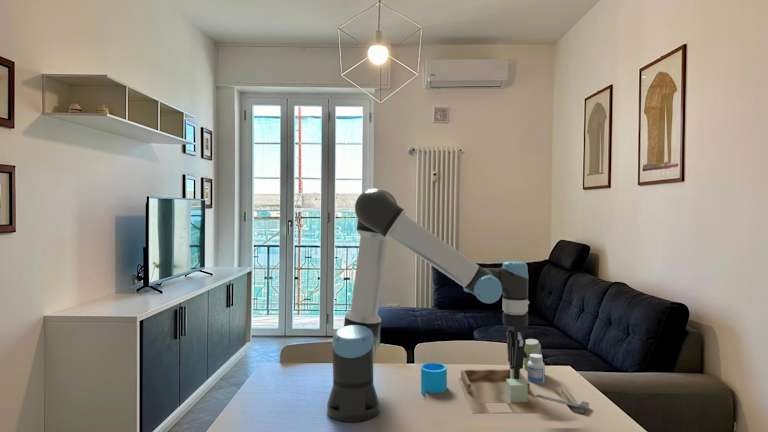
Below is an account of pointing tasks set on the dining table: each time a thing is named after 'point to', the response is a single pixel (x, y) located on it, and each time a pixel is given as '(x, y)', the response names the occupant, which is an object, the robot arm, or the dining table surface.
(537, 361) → the pill bottle
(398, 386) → the dining table surface
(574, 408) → the crook tool
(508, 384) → the block
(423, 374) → the mug
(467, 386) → the cubby deck
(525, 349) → the beverage can
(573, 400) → the dowel
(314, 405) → the dining table surface
